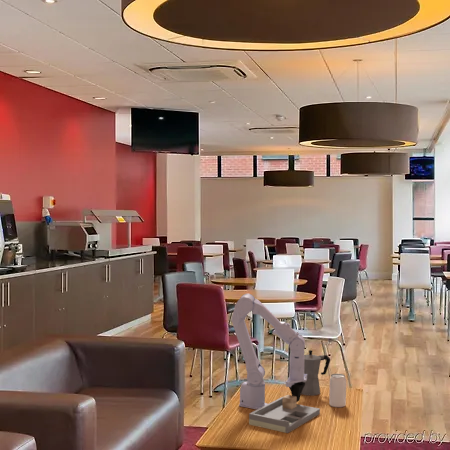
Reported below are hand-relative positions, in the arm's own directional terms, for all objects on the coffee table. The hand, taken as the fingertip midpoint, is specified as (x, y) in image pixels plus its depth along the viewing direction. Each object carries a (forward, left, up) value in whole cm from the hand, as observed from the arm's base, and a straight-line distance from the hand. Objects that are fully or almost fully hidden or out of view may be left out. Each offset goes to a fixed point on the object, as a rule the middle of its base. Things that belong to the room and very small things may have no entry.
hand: (296, 401), depth 289 cm
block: (0, -6, -1) cm, 6 cm away
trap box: (+3, -14, -3) cm, 14 cm away
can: (+12, +13, -3) cm, 18 cm away
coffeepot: (-4, +23, -3) cm, 24 cm away
